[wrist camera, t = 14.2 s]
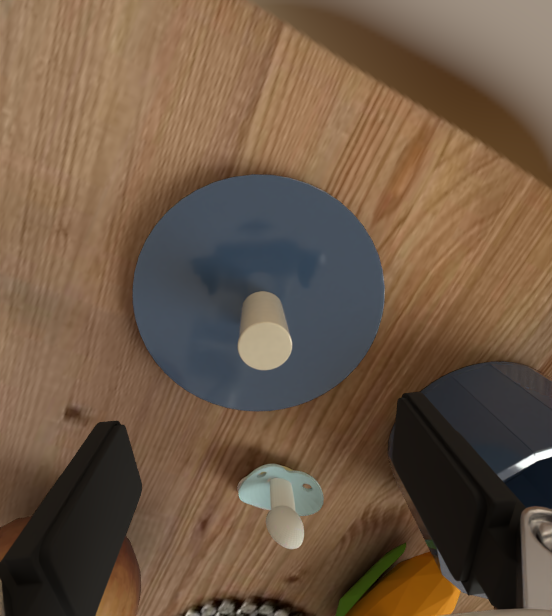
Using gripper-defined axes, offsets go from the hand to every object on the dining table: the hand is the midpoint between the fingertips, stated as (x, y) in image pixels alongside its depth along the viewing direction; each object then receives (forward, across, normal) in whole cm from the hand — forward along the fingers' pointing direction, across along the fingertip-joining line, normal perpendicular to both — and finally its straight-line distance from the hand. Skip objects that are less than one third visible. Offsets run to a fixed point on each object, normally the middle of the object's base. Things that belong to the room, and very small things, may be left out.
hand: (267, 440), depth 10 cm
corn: (+12, -11, +32) cm, 36 cm away
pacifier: (+12, 0, +16) cm, 20 cm away
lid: (+11, 0, -1) cm, 11 cm away
